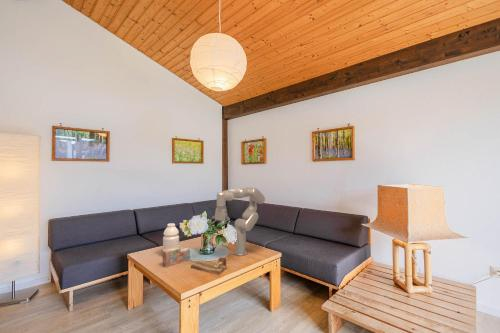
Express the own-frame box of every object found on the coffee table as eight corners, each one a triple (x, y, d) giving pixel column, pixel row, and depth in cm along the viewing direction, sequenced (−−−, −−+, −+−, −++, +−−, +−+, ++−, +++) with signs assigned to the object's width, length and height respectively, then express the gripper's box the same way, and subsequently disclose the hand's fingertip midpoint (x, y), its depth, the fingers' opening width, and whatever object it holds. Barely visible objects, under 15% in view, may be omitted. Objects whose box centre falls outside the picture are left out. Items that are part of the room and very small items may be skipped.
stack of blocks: (186, 258, 204) (186, 244, 204) (189, 260, 199) (190, 245, 199) (162, 265, 189) (162, 250, 188) (165, 267, 184) (166, 252, 184)
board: (199, 262, 194) (199, 260, 194) (226, 268, 184) (226, 266, 184) (190, 267, 184) (190, 265, 184) (219, 274, 174) (219, 271, 174)
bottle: (159, 257, 205) (159, 225, 205) (168, 251, 218) (169, 221, 218) (173, 259, 201) (173, 226, 201) (182, 253, 215) (182, 222, 214)
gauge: (220, 264, 191) (220, 257, 191) (226, 265, 189) (226, 258, 189) (212, 270, 180) (212, 262, 180) (218, 271, 178) (218, 264, 178)
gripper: (232, 207, 199) (231, 227, 199) (214, 205, 206) (214, 225, 206) (227, 208, 192) (227, 229, 192) (209, 207, 199) (209, 227, 199)
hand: (220, 227), depth 199 cm, fingers open, 9 cm apart
